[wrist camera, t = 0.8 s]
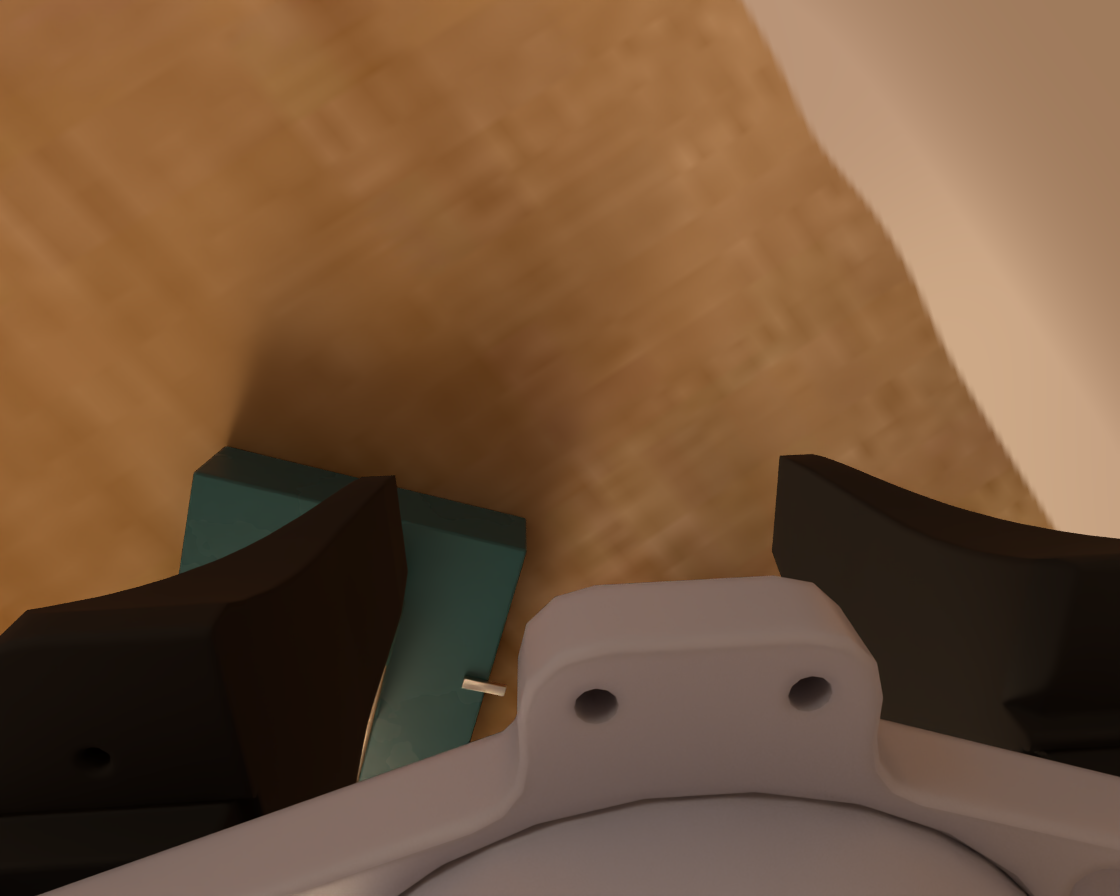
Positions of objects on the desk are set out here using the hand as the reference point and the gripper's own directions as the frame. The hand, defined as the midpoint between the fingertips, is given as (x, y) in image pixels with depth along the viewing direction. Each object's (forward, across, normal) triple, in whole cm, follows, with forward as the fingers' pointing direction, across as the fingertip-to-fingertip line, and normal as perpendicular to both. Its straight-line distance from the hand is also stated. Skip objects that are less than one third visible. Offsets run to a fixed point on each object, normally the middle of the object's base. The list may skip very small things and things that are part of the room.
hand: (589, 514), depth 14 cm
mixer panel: (+10, +8, +9) cm, 16 cm away
